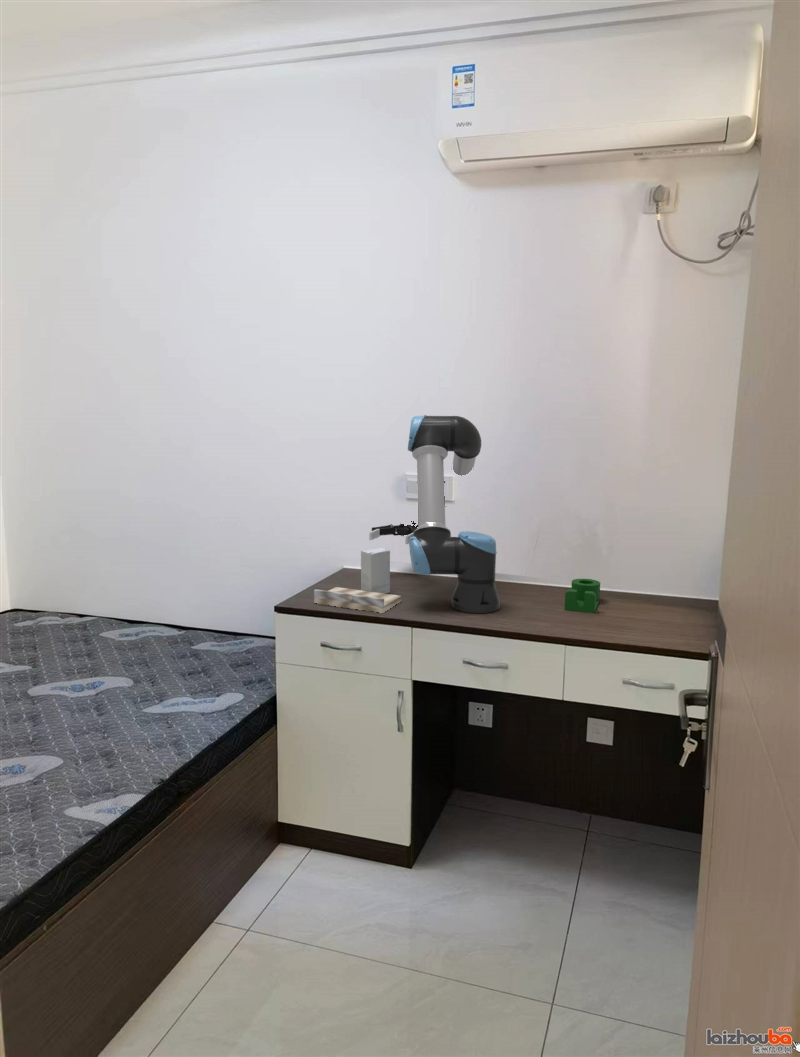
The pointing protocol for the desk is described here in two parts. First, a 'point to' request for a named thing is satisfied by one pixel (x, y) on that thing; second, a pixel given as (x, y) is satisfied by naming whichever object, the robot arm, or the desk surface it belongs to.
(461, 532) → the robot arm
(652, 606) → the desk surface
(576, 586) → the slotted cylinder bracket
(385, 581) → the skincare box
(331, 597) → the shelf board
